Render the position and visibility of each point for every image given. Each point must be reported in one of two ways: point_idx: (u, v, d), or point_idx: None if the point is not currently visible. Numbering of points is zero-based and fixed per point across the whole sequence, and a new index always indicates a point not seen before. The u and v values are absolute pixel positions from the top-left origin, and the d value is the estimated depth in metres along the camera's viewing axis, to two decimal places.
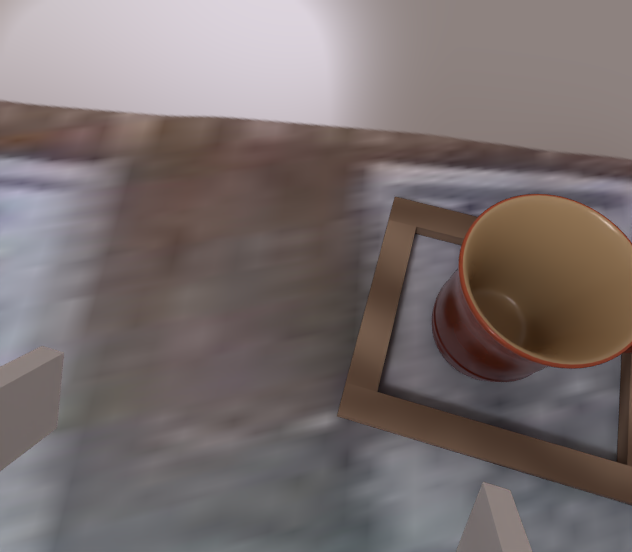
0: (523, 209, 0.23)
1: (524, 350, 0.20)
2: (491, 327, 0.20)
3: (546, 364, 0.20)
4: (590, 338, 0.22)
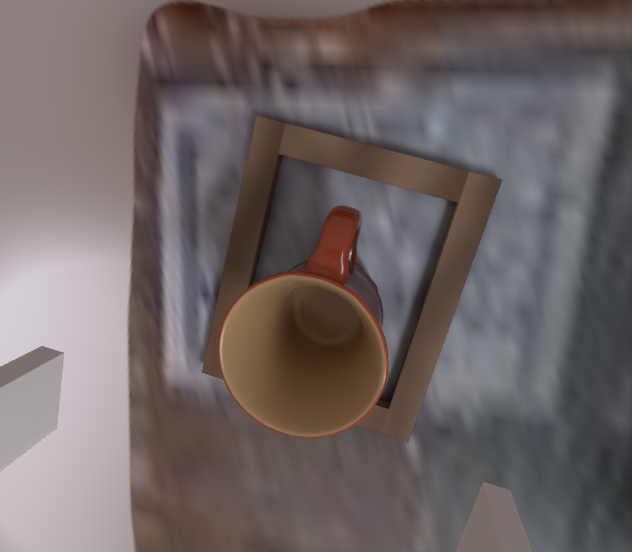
0: (232, 361, 0.24)
1: (372, 399, 0.23)
2: (351, 423, 0.23)
3: (384, 384, 0.22)
4: (355, 310, 0.24)
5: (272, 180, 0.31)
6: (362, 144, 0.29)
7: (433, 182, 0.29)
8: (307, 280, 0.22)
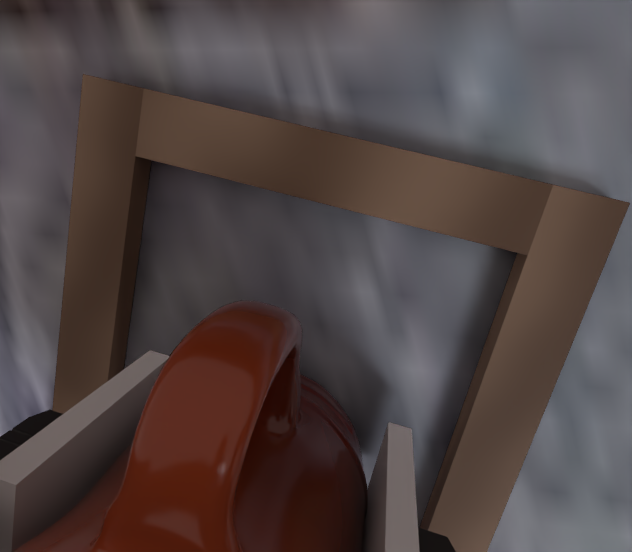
0: None
1: None
2: None
3: None
4: None
5: (129, 211, 0.15)
6: (310, 130, 0.13)
7: (469, 210, 0.13)
8: None
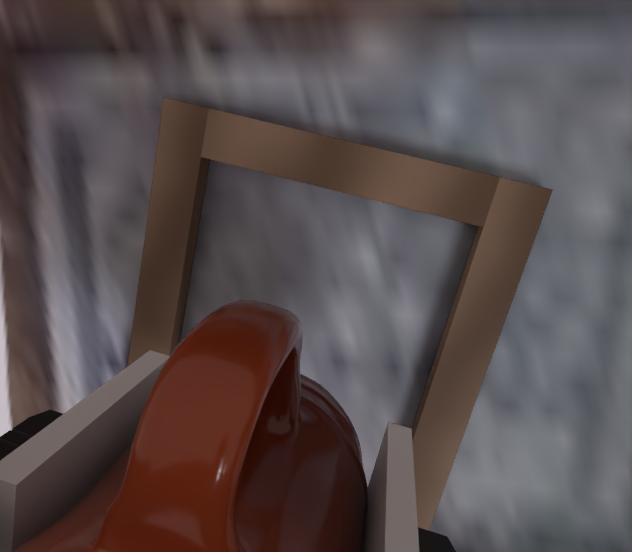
0: None
1: None
2: None
3: None
4: None
5: (194, 197, 0.20)
6: (329, 138, 0.18)
7: (442, 195, 0.18)
8: None
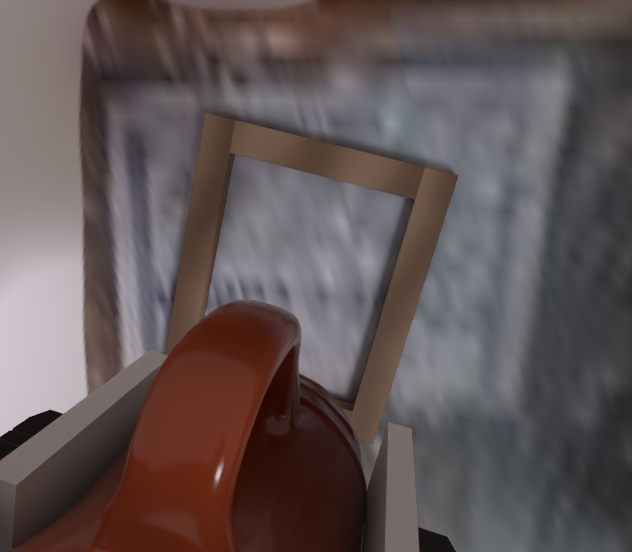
0: None
1: None
2: None
3: None
4: None
5: (224, 180, 0.29)
6: (315, 141, 0.28)
7: (389, 179, 0.28)
8: None
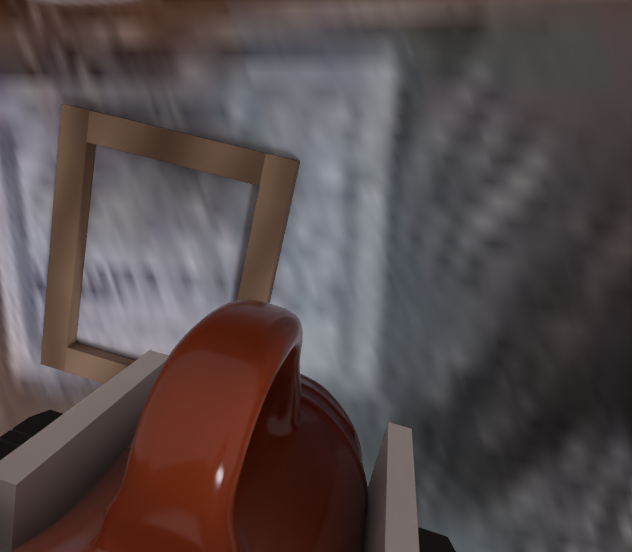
0: None
1: None
2: None
3: None
4: None
5: (84, 168, 0.31)
6: (163, 130, 0.29)
7: (233, 165, 0.29)
8: None
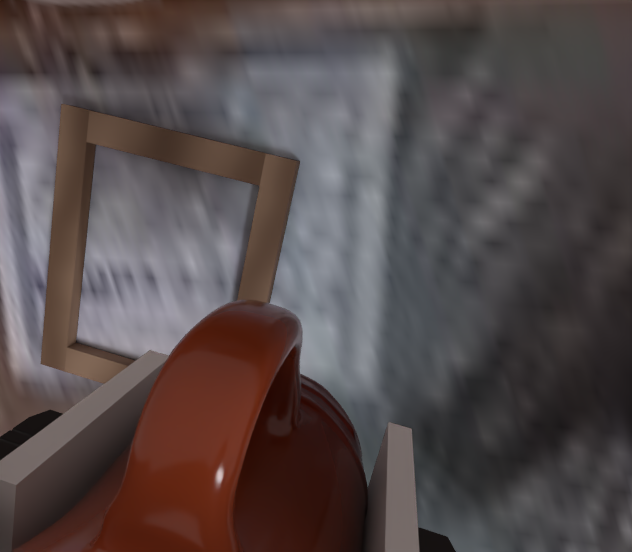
0: None
1: None
2: None
3: None
4: None
5: (84, 168, 0.31)
6: (163, 130, 0.29)
7: (233, 165, 0.29)
8: None
